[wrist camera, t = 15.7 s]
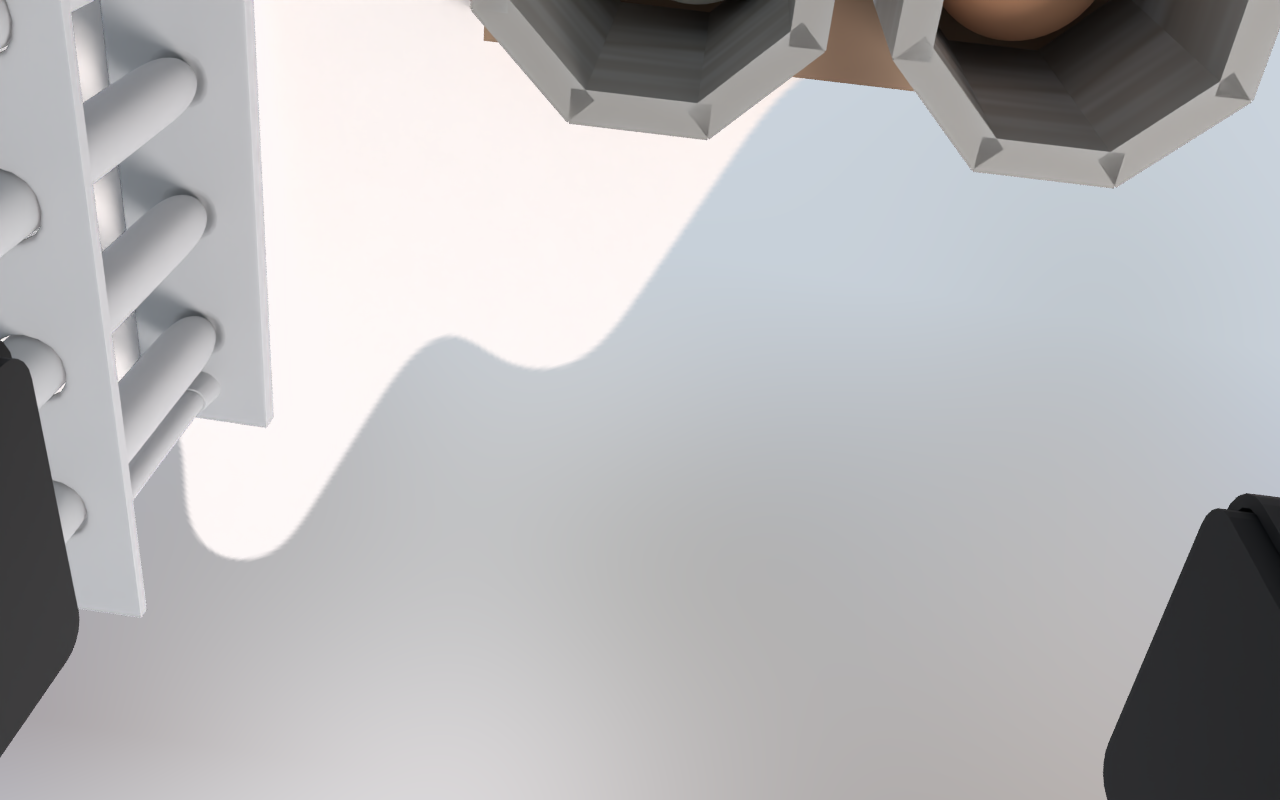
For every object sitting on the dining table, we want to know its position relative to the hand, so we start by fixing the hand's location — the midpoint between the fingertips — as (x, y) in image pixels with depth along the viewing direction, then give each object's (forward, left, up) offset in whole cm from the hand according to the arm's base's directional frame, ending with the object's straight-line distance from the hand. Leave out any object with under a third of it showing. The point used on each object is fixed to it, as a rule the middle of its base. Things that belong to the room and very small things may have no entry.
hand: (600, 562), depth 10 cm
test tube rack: (+16, +6, -29) cm, 33 cm away
